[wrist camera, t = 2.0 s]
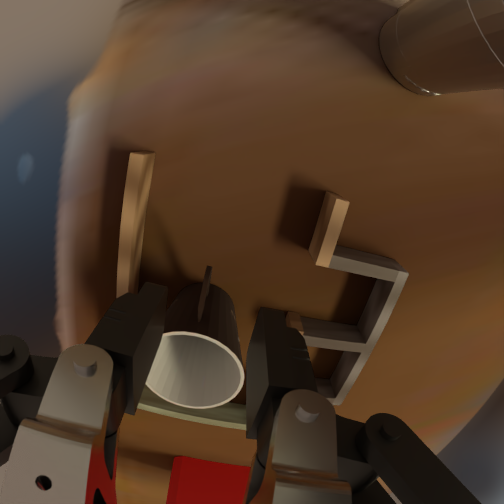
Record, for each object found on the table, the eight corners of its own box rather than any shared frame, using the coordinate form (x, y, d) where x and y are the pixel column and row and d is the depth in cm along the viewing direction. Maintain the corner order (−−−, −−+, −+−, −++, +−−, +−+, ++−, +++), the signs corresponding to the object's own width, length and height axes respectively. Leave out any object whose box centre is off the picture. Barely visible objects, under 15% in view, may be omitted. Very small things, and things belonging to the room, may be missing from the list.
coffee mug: (214, 353, 34) (205, 420, 24) (150, 313, 32) (121, 374, 23) (280, 283, 31) (293, 345, 21) (210, 232, 29) (193, 279, 19)
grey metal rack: (144, 150, 26) (130, 152, 22) (409, 217, 28) (426, 227, 25) (127, 384, 36) (120, 402, 33) (316, 417, 39) (319, 435, 35)
